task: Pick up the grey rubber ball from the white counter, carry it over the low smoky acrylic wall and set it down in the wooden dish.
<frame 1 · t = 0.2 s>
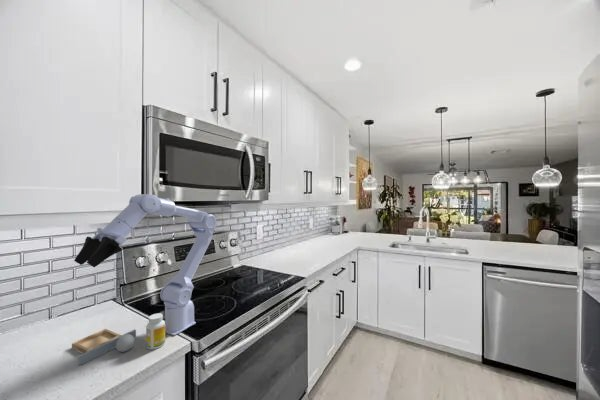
hand: (84, 263, 67), 31 cm above the countertop, tool tilted 45°, fingers open, 7 cm apart
supplement bottle: (156, 345, 83), on the countertop
ball: (125, 350, 80), on the countertop
wooden dish: (97, 343, 83), on the countertop
acrylic wall: (109, 349, 80), on the countertop
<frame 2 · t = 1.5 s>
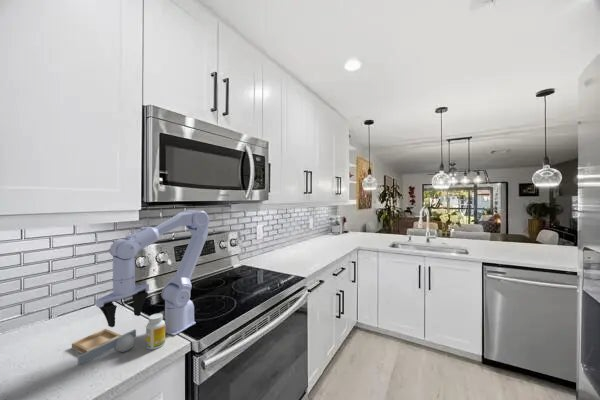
hand: (124, 320, 80), 10 cm above the countertop, tool pointing down, fingers open, 7 cm apart
nothing on the countertop moved.
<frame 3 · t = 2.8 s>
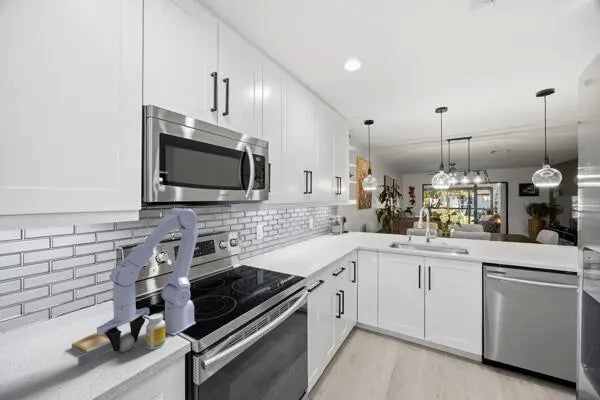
hand: (125, 345, 80), 1 cm above the countertop, tool pointing down, fingers closed on ball, 5 cm apart
ball: (125, 350, 80), on the countertop, touching gripper
everything else where it was.
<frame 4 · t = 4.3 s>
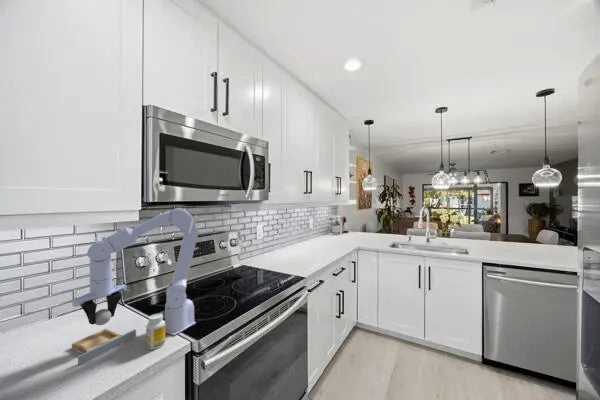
hand: (101, 319, 82), 9 cm above the countertop, tool pointing down, fingers closed on ball, 5 cm apart
ball: (102, 324, 82), point 7 cm above the countertop, touching gripper
everything else where it was.
when the fingers open (3 cm above the countertop, at t = 6.0 s): ball drops 1 cm, resting on wooden dish.
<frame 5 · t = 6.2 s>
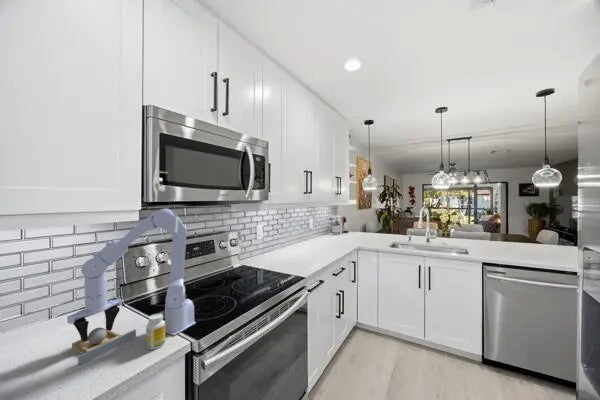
hand: (97, 334, 83), 3 cm above the countertop, tool pointing down, fingers open, 6 cm apart
ball: (97, 342, 83), resting on wooden dish
everything else where it was.
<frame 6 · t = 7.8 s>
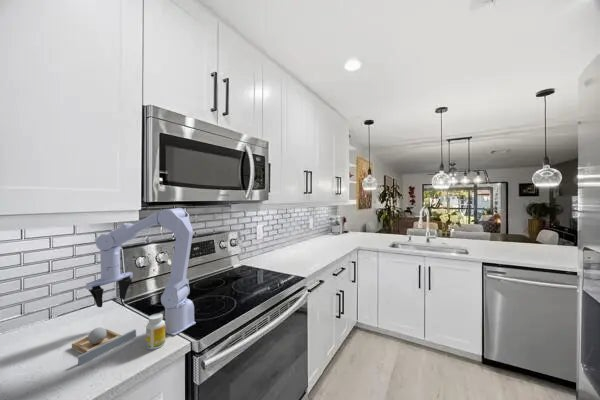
hand: (111, 302, 93), 9 cm above the countertop, tool pointing down, fingers open, 7 cm apart
nothing on the countertop moved.
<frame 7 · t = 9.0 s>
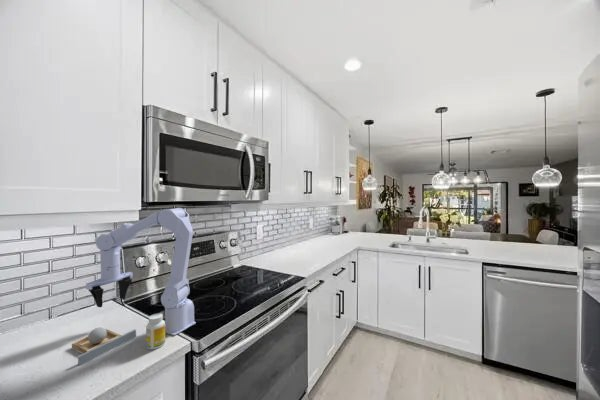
hand: (111, 302, 93), 9 cm above the countertop, tool pointing down, fingers open, 7 cm apart
nothing on the countertop moved.
at the end: ball inside the target area on the wooden dish (0.1 cm from its centre), point 0.4 cm above the wooden dish's base; the gripper is holding nothing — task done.
